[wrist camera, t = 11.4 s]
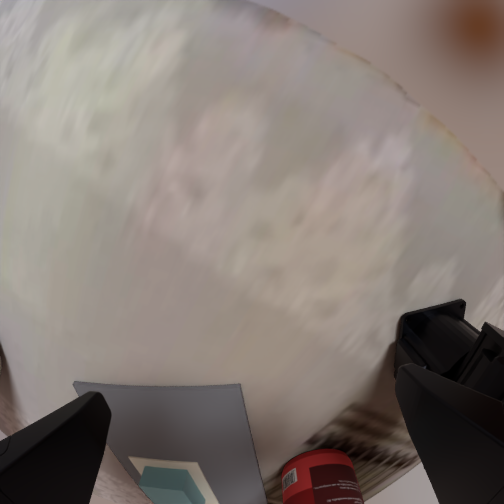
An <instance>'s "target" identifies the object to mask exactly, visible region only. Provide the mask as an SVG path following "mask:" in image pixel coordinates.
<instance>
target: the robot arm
mask: <svg viewBox="0 0 504 504" xmlns="http://www.w3.org/2000/svg"><path fill="white" fill-rule="evenodd" d="M460 305H461V306H460ZM465 308H466V302H465V301H464V300H462V299H458V300H455V301H451V302H447V303H443V304H440V305H436V306H432V307H428V308H424V309H420V310H416V311H411V312H407V313H405V314H404V315H403V316H402V318H401V326H400V336H399V340H398V342H397V348H396V355H395V363H394V367H395V372H394V378H395V379H396V384H395V393H396V397H397V399H398V402H399V405H400V408H401V411H402V414H403V417H404V420H405V423H406V426H407V429H408V432H409V435H410V437H411V439H412V441H413V444H414V446H415V448H416V450H417V452H418V455H419V457H420V459H421V461H422V463H423V466H424V469H425V470H426V473H427V475H428V477H429V480H430V482H431V484H432V487H433V489H434V491H435V494H436V497H437V499H438V502H439V504H504V331H503V330H501V329H499V328H497V327H495V326H493V325H491V324H489V323H487V322H485V323H484V324H483V326H482V328H481V329H482V330H481V332H480V331H479V330H477V329H476V328H475V327H473V326H472V325H471V324H470V323H468V322H467V321H466V320H465V319H464V314H465ZM408 318H409V320H408V321H406V320H407V319H408ZM111 418H112V413H111V409H110V407H109V406H108V404H107V402H106V400H105V398H104V396H103V394H102V393H101V392H97V391H88V392H87V393H85V394H83V395H82V396H80V397H78V398H76V399H75V400H73V401H71V402H70V403H68V404H66V405H64V406H63V407H61V408H59V409H57V410H56V411H54V412H52V413H50V414H49V415H47V416H45V417H43V418H42V419H40V420H38V421H36V422H34V423H33V424H31V425H29V426H27V427H25V428H24V429H22V430H20V431H18V432H16V433H14V434H13V435H12V436H9V437H7V438H5V439H3V440H1V441H0V504H89V502H90V499H91V495H92V492H93V488H94V485H95V481H96V478H97V475H98V471H99V468H100V465H101V462H102V458H103V455H104V451H105V446H106V441H107V436H108V431H109V427H110V422H111Z"/></svg>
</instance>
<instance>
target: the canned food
mask: <svg viewBox="0 0 504 504" xmlns="http://www.w3.org/2000/svg"><path fill="white" fill-rule="evenodd" d="M281 479H282V493H283V504H364V501H363V498H362V494H361V491H360V488H359V484H358V481H357V478H356V474H355V471H354V468H353V464H352V461H351V460H350V458H349V457H348V456H347V454H345V453H344V452H343V451H340V450H336V449H318V450H312V451H309V452H306V453H303V454H300V455H298V456H296V457H294V458H293V459H291V460H290V461H289V462H288V463H287V464H286V465H285V466H284V469H283V472H282V475H281Z"/></svg>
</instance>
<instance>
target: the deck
mask: <svg viewBox="0 0 504 504" xmlns="http://www.w3.org/2000/svg"><path fill="white" fill-rule="evenodd" d="M139 487H140V488H141V489H142V490H143V491H144V493H145V494H146V495H147V496H148V497H149V498H150V500H151V501H152V502H153V503H154V504H205V498H204V497H203V495H202V494H201V492H200V490H199V489H198V487H197V485H196V484H195V482H194V480H193V479H192V477H191V475H190V474H189V472H188V470H185V469H171V468H160V467H151V466H145V467H144V470H143V473H142V476H141V479H140V482H139Z"/></svg>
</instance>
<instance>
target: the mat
mask: <svg viewBox="0 0 504 504" xmlns="http://www.w3.org/2000/svg"><path fill="white" fill-rule="evenodd" d="M73 386H74V388H75V390H76V392H77V394H78V396H79V397H80V396H82V395H83V394H85V393H87V392H88V391H97V392H101V393H102V394H103V396H104V398H105V400H106V402H107V404H108V406H109V407H110V409H111V413H112V418H111V422H110V427H109V431H108V436H107V441H106V443H107V444H108V446H109V447H110V449H111V450H112V452H113V453H114V455H115V456H116V457H117V459H118V460H119V462H120V463H121V464H122V466H123V467H124V468H125V470H126V471H127V472H128V474H129V475H130V476H131V477H132V479H133V480H134V481H135V482H136V484H137V485H138V486H139V482H140V479H141V476H142V473H143V470H144V467H145V466H151V467H160V468H171V469H185V470H188V472H189V474H190V475H191V477H192V479H193V480H194V482H195V484H196V485H197V487H198V489H199V490H200V492H201V494H202V495H203V497H204V498H205V504H267V498H266V494H265V490H264V486H263V482H262V478H261V474H260V470H259V466H258V461H257V457H256V453H255V449H254V444H253V440H252V436H251V431H250V427H249V422H248V418H247V413H246V408H245V404H244V399H243V394H242V390H241V385H240V384H231V385H213V386H181V387H158V386H127V385H110V384H98V383H87V382H78V381H74V383H73ZM140 489H141V488H140ZM141 490H142V489H141ZM142 491H143V490H142ZM143 492H144V491H143ZM145 495H146V494H145ZM146 496H147V495H146ZM147 497H148V496H147ZM148 498H149V497H148ZM149 499H150V498H149Z"/></svg>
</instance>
